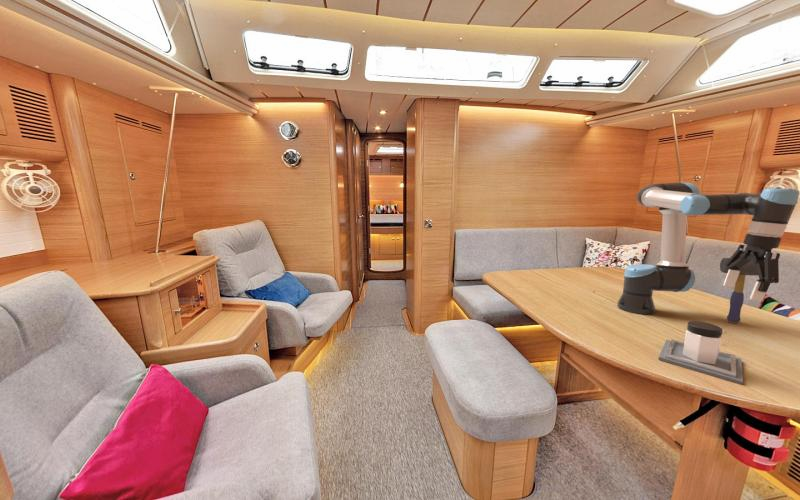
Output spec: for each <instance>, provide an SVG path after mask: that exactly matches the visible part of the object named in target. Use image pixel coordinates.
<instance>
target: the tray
mask: <svg viewBox="0 0 800 500" xmlns="http://www.w3.org/2000/svg"><path fill="white" fill-rule="evenodd" d="M670 341H671V342H670V345H669V347H668V349H667V352H666V355H665V357H666V358H670V359H673V360H677V361H680V362H684V363H687V364H690V365H694V366H697V367H701V368H704V369H708V370H711V371H715V372H718V373H722V374H725V375H729V376H732V377H736V360H735V357H736V355H735V354H732V353H728V352H723V351H720V350H719V354H718V355H719V356H723V357H727V358H730V371H728V370H725V369H721V368H718V367H714V366H710V365H707V364H703V363H700V362H696V361H693V360H689V359H685V358H682V357H678V356H675V355H671V352H672V349H673V346H674V344H676V345H680V346H684V342H685V341H684V342H683V341H679V340H676V339H671V340H670Z"/></svg>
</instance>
